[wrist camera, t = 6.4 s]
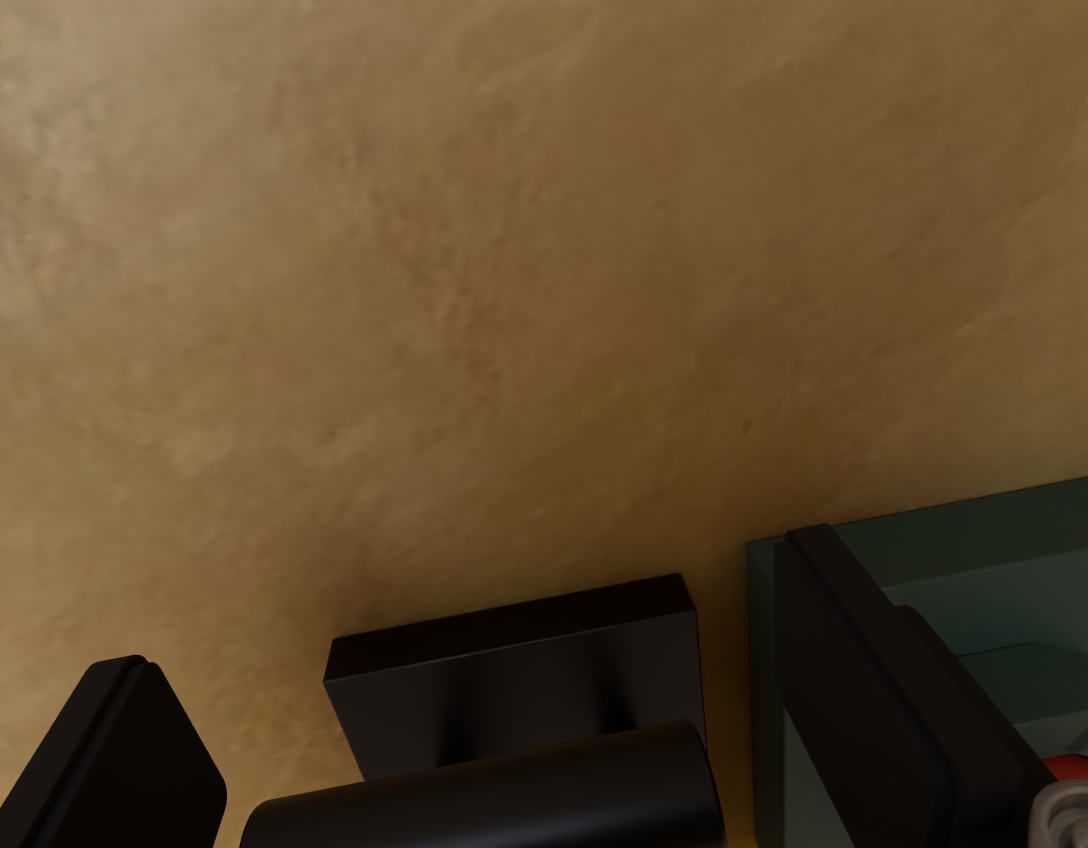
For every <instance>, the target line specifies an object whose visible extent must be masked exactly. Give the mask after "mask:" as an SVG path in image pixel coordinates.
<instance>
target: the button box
mask: <svg viewBox="0 0 1088 848" xmlns="http://www.w3.org/2000/svg"><path fill="white" fill-rule="evenodd" d="M831 527H832V528H833V529H834V530H835V532H836V533H837V534H838V536H839V537H840V538H841V539H842V541H843V542H844V543H845V544H846V546H847V547H848V548H849V549H850V551H851V552H852V553H853V554H854V556H855V557H856V558H857V560H858V561H859V562H860V563H861V565H862V566H863V567H864V568H865V570H866V571H867V572H868V573H869V575H870V576H871V577H872V579H873V580H874V581H875V582H876V584H877V585H878V586H879V587H880V589H881V590H882V591H883V592H884V594H885V595H886V596H887V598H888V599H889V600H890V601H891V603H892V604H893V605H894V606H899V605H906V604H907V605H909V606H911V607H913V608H915V609H916V610H917V611H918V612H919V613H920V614H921V615H922V616H923V617H924V619H925V620H926V621H927V622H928V623H929V625H930V626H931V627H932V628H933V629H934V631H935V632H936V633H937V634H938V636H939V637H940V638H941V639H942V640H943V642H944V643H945V644H946V645H947V646H948V648H949V649H950V650H951V651H952V652H953V654H954V655H955V656H956V657H957V658H958V660H959V661H960V662H961V663H962V665H963V666H964V667H965V668H966V669H967V671H968V672H969V673H970V674H971V675H972V677H973V678H974V679H975V680H976V681H977V683H978V684H979V685H980V686H981V688H982V689H983V690H984V691H985V692H986V694H987V695H988V696H989V697H990V698H991V700H992V701H993V702H994V703H995V704H996V706H997V707H998V708H999V709H1000V710H1001V712H1002V713H1003V714H1004V715H1005V717H1006V718H1007V719H1008V720H1009V721H1010V723H1011V724H1012V725H1013V726H1014V727H1015V729H1016V730H1017V731H1018V732H1019V733H1020V735H1021V736H1022V737H1023V738H1024V740H1025V741H1026V742H1027V743H1028V744H1029V746H1030V747H1031V748H1032V749H1033V750H1034V752H1035V753H1036V754H1037V755H1038V756H1039V758H1040V759H1044V758H1049V757H1054V756H1060V755H1065V754H1070V753H1072V754H1075V755H1079V756H1081V757H1083V758H1085V759H1087V760H1088V478H1083V479H1078V480H1072V481H1067V482H1062V483H1057V484H1051V485H1046V486H1041V487H1036V488H1030V489H1025V490H1020V491H1015V492H1009V493H1004V494H999V495H994V496H988V497H983V498H978V499H973V500H967V501H962V502H957V503H952V504H946V505H941V506H936V507H931V508H926V509H920V510H915V511H910V512H905V513H899V514H894V515H889V516H884V517H878V518H873V519H868V520H863V521H857V522H852V523H847V524H842V525H836V526H831ZM784 537H785V535H784V536H779V537H773V538H768V539H763V540H758V541H752V542H749V543H747V575H748V606H749V637H750V668H751V699H752V730H753V761H754V791H755V822H756V841H757V844H758V847H759V848H855V847H854V845H853V843H852V841H851V839H850V837H849V835H848V833H847V831H846V829H845V827H844V825H843V823H842V821H841V819H840V817H839V815H838V813H837V811H836V809H835V807H834V805H833V803H832V801H831V799H830V797H829V795H828V793H827V791H826V789H825V787H824V785H823V783H822V781H821V779H820V777H819V775H818V773H817V771H816V769H815V767H814V764H813V762H812V760H811V758H810V756H809V754H808V752H807V750H806V748H805V746H804V744H803V742H802V740H801V738H800V736H799V734H798V732H797V730H796V728H795V726H794V724H793V722H792V720H791V718H790V716H789V714H788V712H787V710H786V708H785V706H784V704H783V702H782V700H781V697H780V695H779V692H778V689H777V685H776V680H775V652H774V555H773V551H774V545H775V543H778V542H784Z"/></svg>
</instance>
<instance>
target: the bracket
mask: <svg viewBox="0 0 1088 848" xmlns="http://www.w3.org/2000/svg"><path fill="white" fill-rule="evenodd" d="M323 684H324V687H325V689H326V691H327V694H328V696H329V698H330V701H331V703H332V705H333V708H334V710H335V712H336V715H337V717H338V720H339V722H340V724H341V727H342V729H343V731H344V734H345V736H346V738H347V741H348V743H349V745H350V748H351V750H352V752H353V755H354V757H355V759H356V762H357V764H358V767H359V769H360V771H361V774H362V776H363V778H364V781H369V780H374V779H379V778H384V777H390V776H395V775H400V774H405V773H410V772H415V771H421V770H426V769H431V768H436V767H441V766H446V765H451V764H457V763H462V762H467V761H472V760H477V759H482V758H487V757H493V756H498V755H503V754H508V753H513V752H518V751H524V750H529V749H534V748H539V747H544V746H549V745H554V744H560V743H565V742H570V741H575V740H580V739H585V738H591V737H596V736H601V735H606V734H611V733H616V732H621V731H627V730H632V729H637V728H642V727H647V726H652V725H658V724H663V723H668V722H673V721H678V720H683V719H687V720H691V721H692V722H693V724H694V725H695V727H696V729H697V730H698V732H699V735H700V737H701V739H702V742H703V745H704V748H705V750H706V753H707V756H708V751H707V738H706V725H705V713H704V700H703V687H702V674H701V661H700V648H699V635H698V622H697V610H696V608H695V606H694V603H693V601H692V599H691V596H690V594H689V591H688V589H687V587H686V584H685V582H684V580H683V577H682V575H681V574H680V573H676V574H671V575H666V576H660V577H655V578H650V579H645V580H639V581H634V582H629V583H624V584H618V585H613V586H608V587H603V588H597V589H592V590H587V591H582V592H577V593H571V594H566V595H561V596H556V597H550V598H545V599H540V600H535V601H529V602H524V603H519V604H514V605H508V606H503V607H498V608H493V609H488V610H482V611H477V612H472V613H467V614H461V615H456V616H451V617H446V618H440V619H435V620H430V621H425V622H419V623H414V624H409V625H404V626H399V627H393V628H388V629H383V630H378V631H372V632H367V633H362V634H357V635H351V636H346V637H341V638H336V639H333V641H332V645H331V649H330V653H329V657H328V662H327V666H326V670H325V675H324V679H323Z"/></svg>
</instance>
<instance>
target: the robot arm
mask: <svg viewBox="0 0 1088 848" xmlns="http://www.w3.org/2000/svg"><path fill="white" fill-rule="evenodd" d="M773 555H774V652H775V680H776V685H777V689H778V692H779V695H780V697H781V700H782V702H783V704H784V706H785V708H786V710H787V712H788V714H789V716H790V718H791V720H792V722H793V724H794V726H795V728H796V730H797V732H798V734H799V736H800V738H801V740H802V742H803V744H804V746H805V748H806V750H807V752H808V754H809V756H810V758H811V760H812V762H813V764H814V767H815V769H816V771H817V773H818V775H819V777H820V779H821V781H822V783H823V785H824V787H825V789H826V791H827V793H828V795H829V797H830V799H831V801H832V803H833V805H834V807H835V809H836V811H837V813H838V815H839V817H840V819H841V821H842V823H843V825H844V827H845V829H846V831H847V833H848V835H849V837H850V839H851V841H852V843H853V845H854V847H855V848H1088V779H1064V780H1061V781H1058V779H1057V778H1056V777H1055V776H1054V775H1053V773H1052V772H1051V771H1050V770H1049V769H1048V767H1047V766H1046V765H1045V764H1044V762H1043V761H1042V760H1041V759H1040V758H1039V756H1038V755H1037V754H1036V753H1035V752H1034V750H1033V749H1032V748H1031V747H1030V746H1029V744H1028V743H1027V742H1026V741H1025V740H1024V738H1023V737H1022V736H1021V735H1020V733H1019V732H1018V731H1017V730H1016V729H1015V727H1014V726H1013V725H1012V724H1011V723H1010V721H1009V720H1008V719H1007V718H1006V717H1005V715H1004V714H1003V713H1002V712H1001V710H1000V709H999V708H998V707H997V706H996V704H995V703H994V702H993V701H992V700H991V698H990V697H989V696H988V695H987V694H986V692H985V691H984V690H983V689H982V688H981V686H980V685H979V684H978V683H977V681H976V680H975V679H974V678H973V677H972V675H971V674H970V673H969V672H968V671H967V669H966V668H965V667H964V666H963V665H962V663H961V662H960V661H959V660H958V658H957V657H956V656H955V655H954V654H953V652H952V651H951V650H950V649H949V648H948V646H947V645H946V644H945V643H944V642H943V640H942V639H941V638H940V637H939V636H938V634H937V633H936V632H935V631H934V629H933V628H932V627H931V626H930V625H929V623H928V622H927V621H926V620H925V619H924V617H923V616H922V615H921V614H920V613H919V612H918V611H917V610H916V609H915V608H913V607H911V606H909V605H907V604H906V605H899V606H894V605H893V604H892V603H891V601H890V600H889V599H888V598H887V596H886V595H885V594H884V592H883V591H882V590H881V589H880V587H879V586H878V585H877V584H876V582H875V581H874V580H873V579H872V577H871V576H870V575H869V573H868V572H867V571H866V570H865V568H864V567H863V566H862V565H861V563H860V562H859V561H858V560H857V558H856V557H855V556H854V554H853V553H852V552H851V551H850V549H849V548H848V547H847V546H846V544H845V543H844V542H843V541H842V539H841V538H840V537H839V536H838V534H837V533H836V532H835V530H834V529H833V528H832V527H831V526H830V525H829V524H826V523H823V524H818V525H813V526H808V527H802V528H797V529H792V530H788V531H786V533H785V537H784V542H778V543H775V545H774V551H773ZM226 802H227V789H226V784H225V782H224V779H223V777H222V776H221V774H220V772H219V770H218V769H217V767H216V765H215V763H214V762H213V760H212V758H211V756H210V755H209V753H208V751H207V749H206V748H205V746H204V744H203V742H202V740H201V739H200V737H199V735H198V733H197V732H196V730H195V728H194V726H193V725H192V723H191V721H190V719H189V718H188V716H187V714H186V712H185V711H184V709H183V707H182V705H181V703H180V702H179V700H178V698H177V696H176V695H175V693H174V691H173V689H172V688H171V686H170V684H169V682H168V681H167V679H166V677H165V675H164V674H163V672H162V670H161V668H160V667H159V666H158V664H156V663H154V662H148V661H147V660H146V659H145V658H144V657H143V656H141V655H131V656H125V657H120V658H115V659H110V660H104V661H99V662H96V663H94V664H92V665H91V666H90V667H89V668H88V669H87V670H86V672H85V673H84V675H83V677H82V678H81V680H80V681H79V683H78V685H77V686H76V688H75V689H74V691H73V693H72V694H71V696H70V697H69V699H68V701H67V702H66V704H65V705H64V707H63V708H62V710H61V712H60V713H59V715H58V716H57V718H56V720H55V721H54V723H53V724H52V726H51V728H50V729H49V731H48V732H47V734H46V736H45V737H44V739H43V740H42V742H41V744H40V745H39V747H38V748H37V750H36V752H35V753H34V755H33V756H32V758H31V760H30V761H29V763H28V764H27V766H26V768H25V769H24V771H23V772H22V774H21V775H20V777H19V779H18V780H17V782H16V783H15V785H14V787H13V788H12V790H11V791H10V793H9V795H8V796H7V798H6V799H5V801H4V803H3V804H2V806H1V807H0V848H213V845H214V842H215V839H216V836H217V833H218V830H219V827H220V824H221V821H222V817H223V814H224V811H225V807H226Z"/></svg>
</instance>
